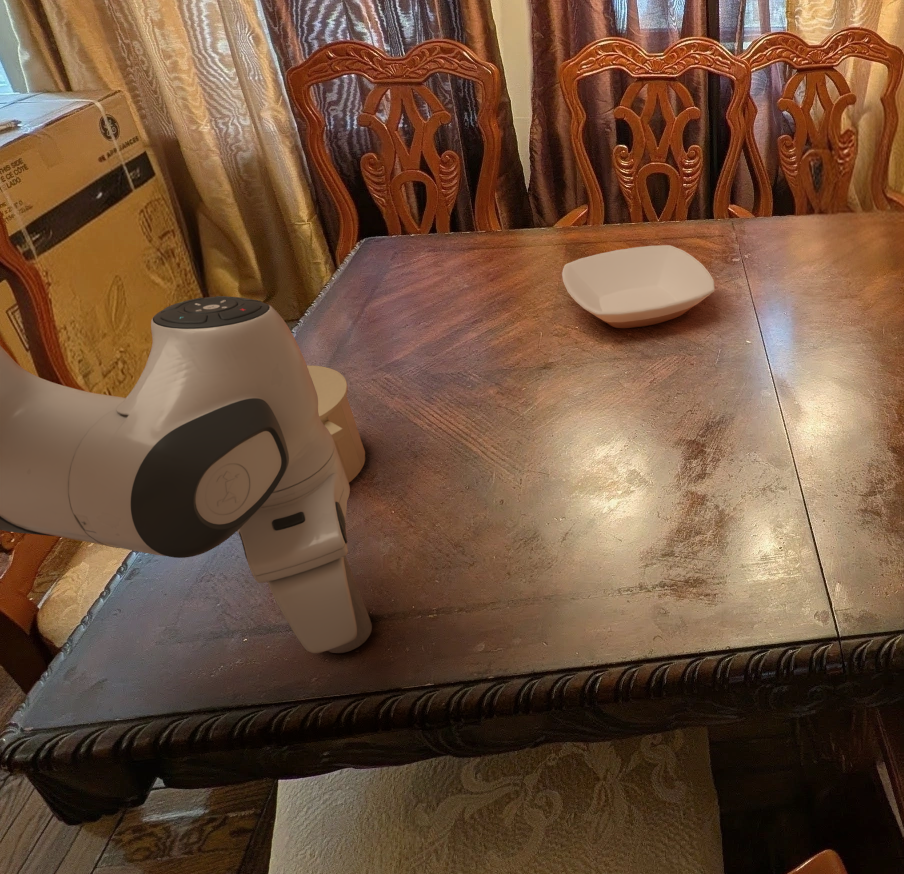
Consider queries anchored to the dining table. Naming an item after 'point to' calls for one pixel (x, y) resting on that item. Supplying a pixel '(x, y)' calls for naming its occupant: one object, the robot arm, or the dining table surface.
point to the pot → (346, 439)
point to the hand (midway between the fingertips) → (335, 606)
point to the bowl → (638, 284)
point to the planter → (360, 615)
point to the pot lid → (328, 389)
